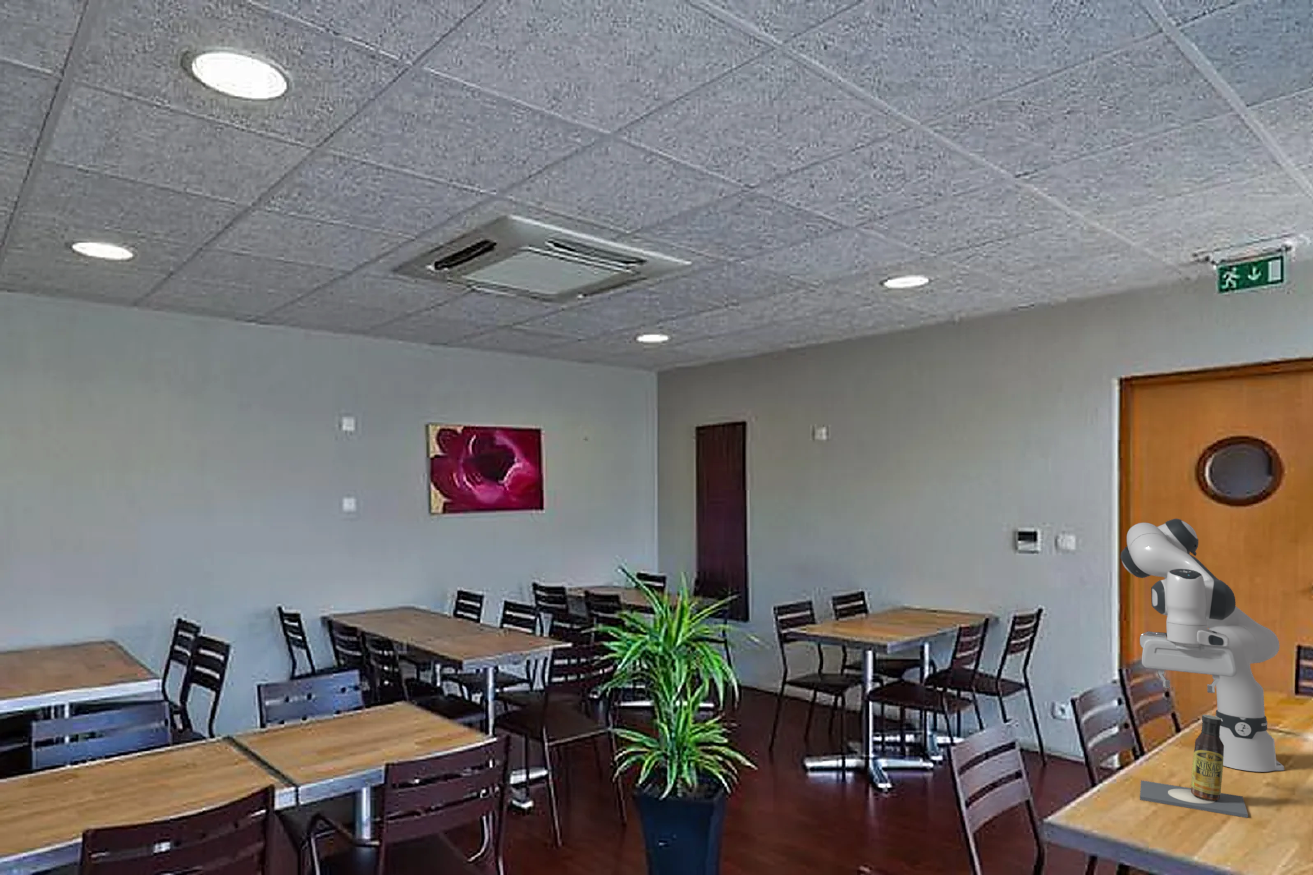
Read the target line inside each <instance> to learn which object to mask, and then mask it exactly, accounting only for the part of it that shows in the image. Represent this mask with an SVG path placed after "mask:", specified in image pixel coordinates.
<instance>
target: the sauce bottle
mask: <svg viewBox="0 0 1313 875" xmlns="http://www.w3.org/2000/svg"><path fill="white" fill-rule="evenodd" d="M1201 721H1202V722H1201V724H1202V725H1201V730H1200V731H1201V732H1200V733H1199V735H1197V737H1196V738H1195V739H1194V740H1195V742H1194V751H1193V757H1192V767H1191V778H1190V779H1191V781H1190V786H1191V787H1190V788H1191V793H1192V794H1193V795H1195V796H1197V797H1200V798H1203V799H1206V800H1213V801H1217V800H1218V799H1219V798H1220V794H1221V793H1222V792H1221V791H1222V782H1223V771H1224V770H1223V769H1224V766H1223V756H1224V745H1223V743H1222V741H1221V739H1220V737H1219V736H1220V725H1221V718H1218V717H1215V716H1214V715H1210V714H1202V715H1201Z"/></svg>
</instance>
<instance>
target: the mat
mask: <svg viewBox="0 0 1313 875" xmlns="http://www.w3.org/2000/svg"><path fill="white" fill-rule="evenodd" d="M1139 792H1140V793H1139V800H1140V801H1146V802H1153V803H1156V804H1157V803H1158V804H1164V805H1170V806H1175V807H1181V808H1186V809H1193V810H1198V811H1206V812H1211V813H1216V814H1223V815H1228V816H1234V817H1240V818H1246V819H1247V818H1249V814H1248V810H1247V807H1246V803H1245V801H1244V797H1243V796H1241V795H1235V794H1230V793H1224V792H1221V794H1220V798H1219V799H1218V800H1217V801H1213V800H1206V799H1203V798H1200V797H1197V796H1195V795H1193V794H1192V793H1191V787H1186V786H1185V787H1184V786H1179V785H1173V784H1166V783H1161V782H1154V781H1153V782H1152V781H1147V780H1142V779H1141V780H1140V790H1139Z"/></svg>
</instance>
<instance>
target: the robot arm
mask: <svg viewBox="0 0 1313 875" xmlns="http://www.w3.org/2000/svg"><path fill="white" fill-rule="evenodd" d="M1164 522H1165V523H1163V524H1161V525H1158V526H1156V525H1155V524H1152V523H1149V522H1138V523H1136V524H1134V525H1132V526H1131V527H1130V528H1129V529H1128V531H1127V534H1126V545H1127V546H1125V547H1124V548H1123V550H1121V552H1120V559H1121V563H1122V565H1123V567H1124V568H1125V569H1126V571H1127V572H1128V573H1129V574H1130V575H1131V574H1132V575H1133V576H1134V577H1136V578H1138V579H1139V578H1140V579H1145V578H1147V577H1150V576H1154V577H1160V578H1163V579H1161V580H1158V581H1156V582H1155V583H1154V584H1153V585H1152V586H1151V589H1150V592H1151V593H1150V594H1151V595H1150V596H1151V598H1150V599H1151V607H1152V608H1153V609H1154V610H1155V611H1156V612H1158V613H1159V614H1160V615H1163V616H1166V621H1165V622H1166V632H1159V631H1156V632H1155V631H1154V632H1153V631H1148V630H1147V631H1145V632H1144V633H1142V634H1140V636H1139V646H1140V647H1141V648H1142V653H1141V665H1142V666H1143V667H1144V669H1152V670H1157V674H1158V676H1159V678H1160V679H1161V681H1162V685H1163V686H1162V688H1164V689H1171V680H1170V679H1166V677H1165V671H1169V672H1170V671H1173V672H1183V673H1191V674H1200V675H1201V674H1204V675H1209V676H1212V677H1211V678H1212V679H1213V680H1212V682H1211V684H1209V683H1208V684H1206V686H1207V693H1209V694H1216V701H1217V702H1216V703H1217V706H1216V707H1217V709H1216V710H1215V717H1218V718H1221V725H1220V736H1219V737H1220V739H1221V741H1222V743H1223V745H1224V756H1223V767H1228V768H1231V769H1236V770H1242V771H1247V772H1257V773H1258V772H1259V773H1261V772H1264V773H1265V772H1268V773H1269V772H1272V771H1285V766H1284V765H1283V764H1282V763H1280V761H1278V760H1277V756H1276V744H1275V743H1276V742H1275V738H1273V737H1272V735H1270V734H1269V732H1268V731H1267V730H1268V719H1267V716H1266V714H1265V695H1264V694H1265V693H1264V688H1263V686H1262V685H1261V684H1260V683H1259V682H1258V681H1257V680H1256V679H1255V677H1254V674H1253V671H1252V669H1251V664H1258V663H1259V664H1260V663H1264V662H1265V661H1268V660H1271V659H1273V658H1274V657H1275V656H1277V654H1278V653H1279V651H1280V641H1279V638H1278V636H1277V635H1276V633H1275V632H1274V631H1272V629H1270V628H1268V627H1266V626H1264V625H1262V624H1260V623H1258V622H1257V621H1256V620H1254V619H1253V618H1252V617H1250V616H1249V615H1248V614H1246V612H1244V611H1242V610H1241V608H1239V607H1237V606H1236V604H1237V603H1236V602H1237V601H1236V596H1235V594H1234V590H1233V589H1232V588H1231V587H1230V586H1229V585H1228V584H1227V583H1226V582H1224V581H1223V580H1221V579H1219V578H1217V577H1216V576H1215V575H1214V574H1213V573H1212V572H1211V571H1210V570H1209V569H1208V568H1207V567H1206V566H1205V565H1204V564H1203V563H1202V562H1201V560H1199V559H1198V558H1197V557H1196V556H1197V552H1196V551H1197V549H1198V548H1199V538H1198V535H1197V532H1196V531H1195V529H1194V528H1193V527H1192V526H1191V525H1190V524H1188V522H1186V521H1184V520H1182V519H1180V518H1173V519H1169V520H1167V521H1164ZM1190 553H1191V554H1192V555H1191V554H1190ZM1215 689H1216V690H1215ZM1215 691H1216V692H1215Z"/></svg>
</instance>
